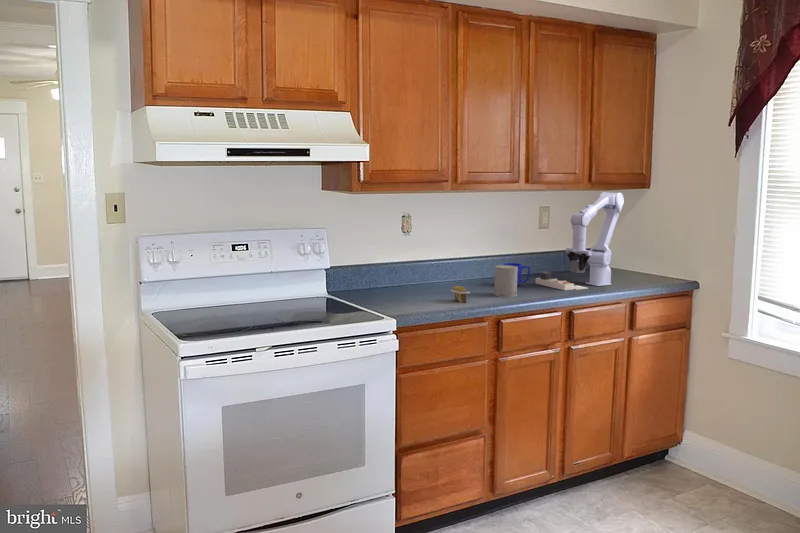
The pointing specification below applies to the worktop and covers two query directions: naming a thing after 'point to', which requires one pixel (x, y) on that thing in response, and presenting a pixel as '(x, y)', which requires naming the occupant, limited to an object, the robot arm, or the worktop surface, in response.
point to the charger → (576, 267)
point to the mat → (579, 287)
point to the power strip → (553, 282)
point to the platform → (460, 293)
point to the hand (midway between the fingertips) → (577, 269)
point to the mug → (519, 271)
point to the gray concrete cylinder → (506, 280)
